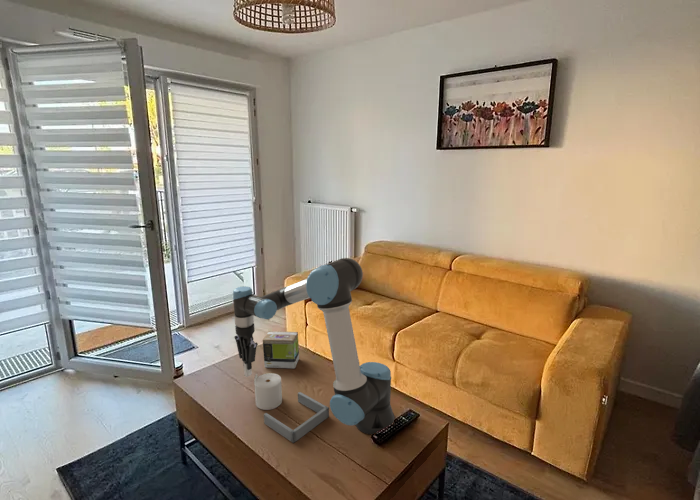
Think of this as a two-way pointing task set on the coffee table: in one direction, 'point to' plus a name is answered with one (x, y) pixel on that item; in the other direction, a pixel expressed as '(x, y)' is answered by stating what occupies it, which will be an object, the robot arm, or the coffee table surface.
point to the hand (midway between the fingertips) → (248, 375)
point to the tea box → (281, 349)
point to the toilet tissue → (268, 391)
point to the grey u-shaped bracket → (304, 427)
